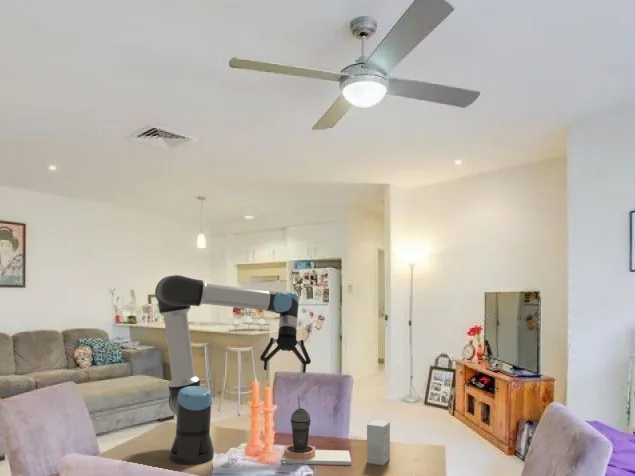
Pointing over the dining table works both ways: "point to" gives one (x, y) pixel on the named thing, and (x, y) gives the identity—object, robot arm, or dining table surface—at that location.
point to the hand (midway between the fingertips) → (284, 379)
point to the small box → (378, 442)
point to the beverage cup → (300, 429)
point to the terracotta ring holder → (299, 456)
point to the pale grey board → (324, 458)
